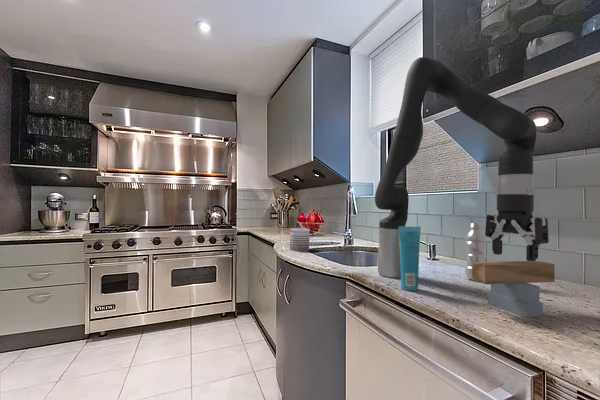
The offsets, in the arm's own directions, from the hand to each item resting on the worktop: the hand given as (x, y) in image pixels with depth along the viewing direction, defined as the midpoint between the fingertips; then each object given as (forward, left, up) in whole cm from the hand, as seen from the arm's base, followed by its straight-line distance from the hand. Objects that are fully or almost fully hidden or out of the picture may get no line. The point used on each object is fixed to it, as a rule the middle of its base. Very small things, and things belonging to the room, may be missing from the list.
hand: (513, 257), depth 72 cm
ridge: (0, 0, -13) cm, 13 cm away
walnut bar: (0, 0, -6) cm, 6 cm away
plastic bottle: (-26, +16, -13) cm, 33 cm away
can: (-102, -28, -13) cm, 107 cm away
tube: (-21, -15, -13) cm, 29 cm away
